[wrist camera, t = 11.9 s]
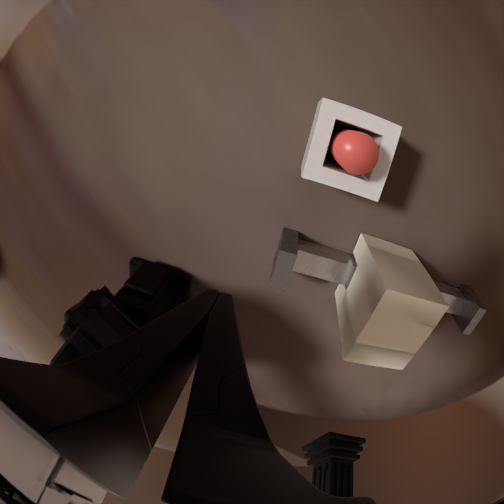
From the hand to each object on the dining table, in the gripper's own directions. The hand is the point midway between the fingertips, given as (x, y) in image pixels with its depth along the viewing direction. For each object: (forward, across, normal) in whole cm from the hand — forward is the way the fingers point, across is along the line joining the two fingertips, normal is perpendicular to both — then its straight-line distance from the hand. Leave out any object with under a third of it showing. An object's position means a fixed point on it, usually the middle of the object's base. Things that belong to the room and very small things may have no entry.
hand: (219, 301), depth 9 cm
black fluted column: (+13, -22, +37) cm, 45 cm away
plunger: (+13, -4, -5) cm, 14 cm away
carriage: (+13, -10, +4) cm, 17 cm away
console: (+13, -4, -6) cm, 15 cm away
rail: (+13, -12, +4) cm, 18 cm away
